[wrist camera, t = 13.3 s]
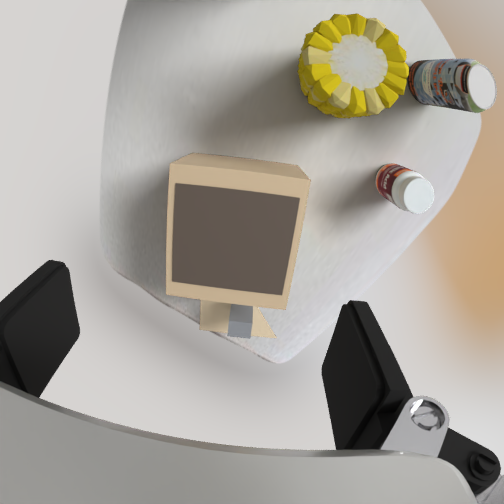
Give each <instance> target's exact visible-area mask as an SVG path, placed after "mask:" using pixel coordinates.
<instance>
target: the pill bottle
mask: <svg viewBox="0 0 504 504" xmlns="http://www.w3.org/2000/svg"><path fill="white" fill-rule="evenodd" d="M375 183H376V187H377V190H378V192H379V193H380V194H381V195H382V196H383V197H385V198H386V199H388V200H389V201H390V202H392V203H393V204H395V205H396V206H397V207H399V208H400V209H402V210H404V211H410V212H412V213H415V214H421V213H423V212H425V211H427V210H428V209H429V208H430V206H431V205H432V203H433V200H434V190H433V187H432V185H431V184H430V182H429V181H427V180H426V179H424V178H423V177H422V176H421V175H420V174H419V173H418V172H416V171H413V170H410V169H408V168H405V167H403V166H400V165H397V164H393V163H390V164H386V165H384V166H383V167H381V169H380V170H379V171H378V173H377V175H376V180H375Z"/></svg>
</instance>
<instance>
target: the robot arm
mask: <svg viewBox="0 0 504 504" xmlns="http://www.w3.org/2000/svg"><path fill="white" fill-rule="evenodd" d="M79 334H80V327H79V323H78V318H77V313H76V309H75V303H74V297H73V291H72V285H71V279H70V272H69V269H68V268H67V267H66V265H65V263H63V262H59V261H54V260H49V261H47V262H46V263H45V264H44V265H42V266H41V267H40V268H39V269H37V270H36V271H35V272H34V273H33V274H31V275H30V276H29V277H28V278H27V279H26V280H24V281H23V282H22V283H21V284H20V285H19V286H18V287H16V288H15V289H14V290H13V291H12V292H11V293H10V294H9V295H8V296H6V297H5V298H4V299H3V300H2V301H1V302H0V504H504V475H502V476H501V475H500V470H501V467H500V463H499V460H498V458H497V456H496V455H495V454H494V453H493V452H492V451H490V450H489V449H487V448H485V447H483V446H482V445H479V444H478V443H476V442H474V441H472V440H470V439H468V438H466V437H465V436H463V435H461V434H459V433H457V432H455V431H454V430H452V429H450V428H448V426H449V415H448V412H447V410H446V409H445V407H444V406H443V405H442V404H441V403H440V402H438V401H436V400H435V399H433V398H430V397H427V396H417V397H413V395H412V393H411V391H410V389H409V386H408V384H407V382H406V380H405V377H404V375H403V373H402V371H401V369H400V367H399V364H398V362H397V360H396V358H395V356H394V354H393V352H392V350H391V348H390V346H389V344H388V342H387V340H386V338H385V336H384V334H383V332H382V330H381V328H380V326H379V324H378V322H377V320H376V318H375V316H374V314H373V312H372V310H371V309H370V307H369V305H368V303H367V302H364V301H352V300H350V301H349V302H348V304H344V305H343V306H342V308H341V311H340V314H339V317H338V321H337V324H336V327H335V330H334V333H333V336H332V339H331V342H330V345H329V348H328V350H327V353H326V356H325V359H324V362H323V365H322V378H323V383H324V388H325V393H326V398H327V403H328V408H329V414H330V419H331V424H332V429H333V435H334V441H335V446H336V450H289V449H267V448H253V447H242V446H232V445H222V444H215V443H208V442H201V441H195V440H188V439H183V438H177V437H172V436H166V435H161V434H157V433H152V432H147V431H143V430H139V429H134V428H131V427H126V426H123V425H119V424H115V423H111V422H108V421H105V420H101V419H98V418H94V417H91V416H88V415H85V414H82V413H79V412H76V411H73V410H70V409H67V408H64V407H61V406H59V405H56V404H53V403H51V402H48V401H45V400H43V399H40V398H39V397H40V395H41V394H42V392H43V390H44V389H45V387H46V386H47V384H48V383H49V381H50V379H51V378H52V376H53V375H54V373H55V372H56V370H57V369H58V367H59V365H60V364H61V363H62V361H63V360H64V358H65V357H66V355H67V354H68V352H69V351H70V349H71V348H72V346H73V345H74V344H75V342H76V341H77V339H78V337H79Z"/></svg>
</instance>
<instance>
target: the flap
mask: <svg viewBox="0 0 504 504" xmlns="http://www.w3.org/2000/svg"><path fill="white" fill-rule="evenodd" d="M200 330H206V331H214V332H222V333H228V335H227V336H232V337H241V338H250V337H251V336H259V337H269V338H277V337H276V336H275V334H274V333H273V331H272V329H271V328H270V326H269V324H268V323H267V321H266V320H265V318H264V316H263V315H262V313H261V311H260V310H259V308H258V307H255V306H247V305H238V304H230V303H222V302H215V301H207V300H201V304H200Z"/></svg>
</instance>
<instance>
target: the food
mask: <svg viewBox="0 0 504 504" xmlns="http://www.w3.org/2000/svg"><path fill="white" fill-rule="evenodd" d="M385 26H386V25H384V24H383V23H382V22H380V21H379V20H378V19H376V18H368V19H366V18H364V17H363V16H361V15H359V14H351V15H347V16H346V15H340V14H334V15H333V16H332V18H331V19H330V20H328V21H321V22H320V23H319V24H318V25H316V27H315V28H313V32H311V33H308V34H306V38H305V40H304V44H303V47H302V48H301V50H302V53H301V54H300V58H299V65H298V67H299V70H298V71H297V72H298V73H299V78H300V86H301V90H302V92H303V93H304V95H305V96H308V98H307V99H308V103H309V104H311V105H313V106H315V107H318V108H317V109H319V110H320V111H321V112H322V113H325V114H327V115H328V114H331V115H333V116H334V117H337V118H351V117H361V116H367V115H368V116H370V115H378V114H379V113H380V112H381V111H382V110H383V109H384V108H390V107H391V106H392V105H393V104H394V103H395V101H396V100H397V99H398V98H399V97H398V95H404V91H405V87H406V83H407V80H406V78H407V77H408V75H409V66H408V65H407V64H406V63H405V60H406V51H405V50H404V49H403V48H402V47H401V46H400V45H398V38H399V36H398V35H396V34H394V33H393V32H391V31H389V30H388V29H386V28H385Z"/></svg>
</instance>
